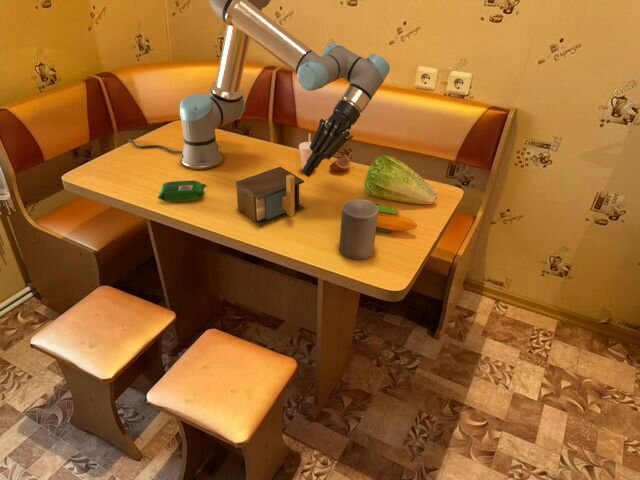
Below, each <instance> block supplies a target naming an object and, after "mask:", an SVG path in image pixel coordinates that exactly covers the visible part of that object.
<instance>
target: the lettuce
mask: <svg viewBox="0 0 640 480" xmlns="http://www.w3.org/2000/svg"><path fill="white" fill-rule="evenodd" d="M363 185H364V186H363V187H364V192H365V193H366V194H367V195H368V196H372V197H375V198H380V199H384V200H387V201H395V202H402V203H406V204H413V205H433V204H434V203H435V201H436V200H437V197H438V192H437V191H436V190H435V189H434V187H433V186H431V185H430V184H429V183H428V182H427V181H426V180H425V179H424V178H423V177H422V176H421V175H420V174H418V173H417V172H416V171H414V169H412V168H411V167H409V166H408V165H407V164H406V163H404V161H401V160H400V159H397V158H396V157H393V156H391V155H387V154H383V155H380V156H377V157H376V158H375V159H374V160H373V162H372V163H371V165H370V166H369V169H368V171H367V173H366V175H365V179H364V183H363Z"/></svg>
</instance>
